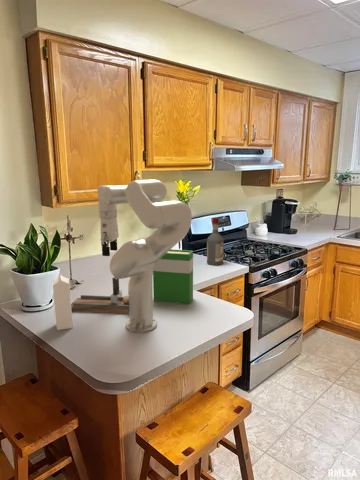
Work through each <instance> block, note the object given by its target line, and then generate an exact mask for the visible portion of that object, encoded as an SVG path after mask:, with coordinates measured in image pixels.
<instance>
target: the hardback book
mask: <svg viewBox="0 0 360 480" xmlns="http://www.w3.org/2000/svg"><path fill="white" fill-rule="evenodd" d="M152 291H153V302H162V303H163V302H165V303H172V304H183V305H191V303H192V301H193V299H194V250H189V249H188V250H187V249H172V248H171V249H170V250H169V251H168V252H167V253H166V254H165V255H164V256H163V257H162V258H160V259H159V260H158V261H156V262H154V269H153V276H152Z"/></svg>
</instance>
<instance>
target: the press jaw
mask: <svg viewBox="0 0 360 480" xmlns="http://www.w3.org/2000/svg"><path fill="white" fill-rule="evenodd" d="M110 296H111V304H116V305H119V304H120V303H121V301H122V297H123V291H122V290H121V289H120V279H118V278H116V277H114V276H113V277H112V293H111V294H110Z"/></svg>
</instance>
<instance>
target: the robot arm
mask: <svg viewBox="0 0 360 480" xmlns="http://www.w3.org/2000/svg"><path fill="white" fill-rule="evenodd" d="M167 190H168V189H167V186H166V185H165V184H164V183H163V182H162V181H161V180H158V179H137V180H136V179H135V180H133V181H130V182H128V184H123V185H122V184H119V185H113V184H112V185H110V184H106V185H105V184H104V185H99V186H98V188H97V204H98V218H99V219H100V243H101V253H102V255H101V256H103V257H110V256H111V251H114V252H115V253H114V254H113V255H112V257H111V258H110V262H109V272H110V273H111V275H112V276H113V278H114V277H116V278H118V279H119V280H122V279H127V278H129V280H128V283H127V284H128V285H127V286H128V288H127V291H128V296H129V313H128V314H129V315H128V316H129V319H128V320H126V322H125V328H126V329H127V330H129V331H131V332H134V333H146V332H150V331H152V330H154V329H155V328H157V325H158V321H157V319H156V318H154V312H153V311H154V308H153V306H154V305H153V303H154V296H153V269H154V262H156V261H158V260H159V259H160V258H162V257H163V256H164V255H165V254H166V253H167V252H168V251H169V250H170V249H172V248H174V247H175V246H176V245H177V244H178V243H180V242H181V241H182V240H183V239H184V238H185V237H186V235H187V234H188V232H189V231H190V227H191V224H192V210H191V208H190V206H189V205H188V204H187V203H185V202H183V201H180V200H168V201H164V199H165V198H166V197H167V194H168V193H167V192H168V191H167ZM123 204H129V206H130V207H131V209H132V211H134V213H135V215H136V216H137V217H138V219H139V220H140V222H141V223H142V225H144V227H146V228H148V229H152V230H154V229H155V231H154V232H153V233H152V234H151V235H149V236H148V237H143V238H139V239H134V240H133V239H132V240H129V241H126V242H125V243H123V244H122V245H121V246H120V247H119V249H118V238H119V235H120V234H119V224H118V219H117V218H118V211H117V210H118V207H117V206H118V205H123Z"/></svg>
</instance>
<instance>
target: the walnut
mask: <svg viewBox="0 0 360 480" xmlns="http://www.w3.org/2000/svg"><path fill="white" fill-rule="evenodd" d="M122 297H123V300H122V301H123V303H124V304H125V305H128V304H129V295H125V296H122Z"/></svg>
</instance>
